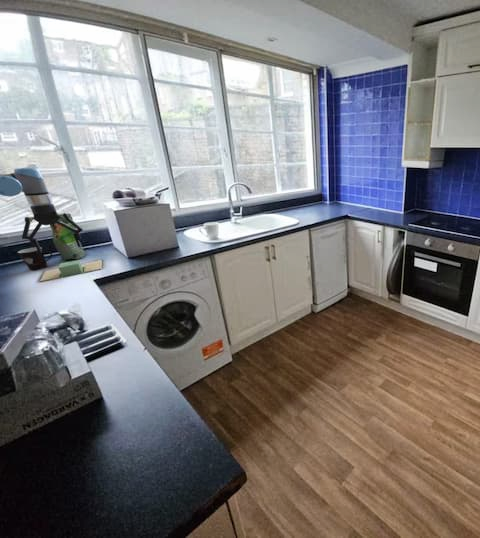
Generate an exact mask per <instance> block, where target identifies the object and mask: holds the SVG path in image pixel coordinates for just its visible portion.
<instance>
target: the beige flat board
mask: <svg viewBox="0 0 480 538" xmlns="http://www.w3.org/2000/svg"><path fill="white" fill-rule="evenodd" d="M80 264H81V266H82V268H83V273H84V274H89V273H93V272H97V271H102V269H103V261H102V259H100V260H94V261H89V262H83V263H80ZM61 278H62V274H61V272H60V270H59V268H57V267H56V268H53V269H48V270H44V272H43V273H42V276H41V277H40V279H39V283H44V282H50V281H54V280H60V279H61Z"/></svg>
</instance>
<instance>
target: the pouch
mask: <svg viewBox="0 0 480 538" xmlns="http://www.w3.org/2000/svg"><path fill="white" fill-rule="evenodd" d="M66 213H67V212H66ZM67 214H68V216H69V218H71V219H72V220H73V221H74V219H73V216H72V214H71V213H67ZM59 220H60V221H62V222H63V223H65V224H67V225H69V226H71V227H72V228H74V229H76V230H77V228H75V227H74V226H73V225H72V224H71V223H69V222H68V221H67V220H66V219H65V218H62V217H60V218H59ZM49 227H50V229H51V231H52V233H51V236H52V241H53V244H54V247H55V248H56V251H57V252H58V254H59V256H60V257H61V260H62V261H66V260H67V261H68V260H75V261H76V260H81V259H84V258H85V257H86V256H87V255H86V252H85V250H84V249H83V246H82V242H80V245H81V247H78V245H77V242H76V240H75V237H74V235H73V234H74V232H72V231H70V230H68V229H67V228H65V227H63V226H61V225H59V224H57V223H56V224H55V225H49Z"/></svg>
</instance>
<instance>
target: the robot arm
mask: <svg viewBox="0 0 480 538" xmlns="http://www.w3.org/2000/svg"><path fill="white" fill-rule="evenodd" d="M21 193H23V194H24V197H25V199H26V201H27V203H28V205H30V206H29V208H30V210H31V212H32V214H33V215H32V216H25V217H24V222H25V223H24V227H23V231H22V235H21V239H23V240H28V241H29V242H30V245H31V246H32V247H35V248H37V250H38V252H39V253H42V250H43V249H42V250H41V248H42V247H41V246H40V243H39V241H38V239H37V238H36V237H35V236H36V234H38V231H39V230H40V228H41V227H42V226H44V227H45V226H50V225H55V224H56V223H57V224H59V225H61V226H63V227H65V228H67V229H68V230H70V231H72V232H74V234H73V235H74V237H75V240H76V242H77V245H78V247H81V245H82V244H81V245H80V243H81V242H80V240H82V237H81V234H80V233H81V232H83V231H84V229H83V227H81V226H80V225H79V224H78V223H76V222H75V221H74V219H73V218H72V219H73V220H72V219H71V218H69V216H68V214H69V213H68V214H67V212H64V213H58V212H57V209H56V206H55V205H54V204H53V199H52V197H51V195H50V192H49V191H48V187H47V185H46V183H45V180H44V178H43V175H42V174H41V171H40V170H39V169H38V168H36V167H22V168H21V167H20V168H19V167H18V168H14V169H13V173H3V174H0V196H3V197H15V196H18V195H20V194H21ZM60 217H62V218H65V219H66V220H67V221H68V222H69V223H71V224H72V225H73V226H74V227H75V228H76V229H74V228H72V227H71V226H69V225H67V224H65V223H63V222H62V221H60V220H59V218H60ZM33 220H34V221H35V222H37V224H36V226H35V227H34V229H33V230H32V232H31V233H30V235H29V231H30V227H31V223H32V222H33ZM40 247H41V248H40Z"/></svg>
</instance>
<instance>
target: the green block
mask: <svg viewBox="0 0 480 538" xmlns="http://www.w3.org/2000/svg"><path fill="white" fill-rule="evenodd" d="M81 264H82V263H81V261H80V259H77V260H76V259H75V260H72V261H67V262H62V263H59V265H58V268H59V270H60V272H61V274H62V275H61V278H63V279H64V278H70V277H73V276H79V275H83V273H84V269H83V268H82V266H81Z"/></svg>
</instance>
